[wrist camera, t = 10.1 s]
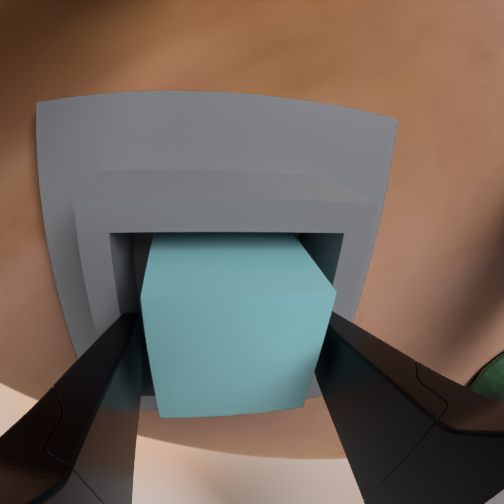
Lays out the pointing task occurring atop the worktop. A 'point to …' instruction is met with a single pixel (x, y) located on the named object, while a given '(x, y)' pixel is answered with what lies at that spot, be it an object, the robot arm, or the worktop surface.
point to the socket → (202, 190)
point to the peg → (232, 321)
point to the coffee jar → (491, 380)
